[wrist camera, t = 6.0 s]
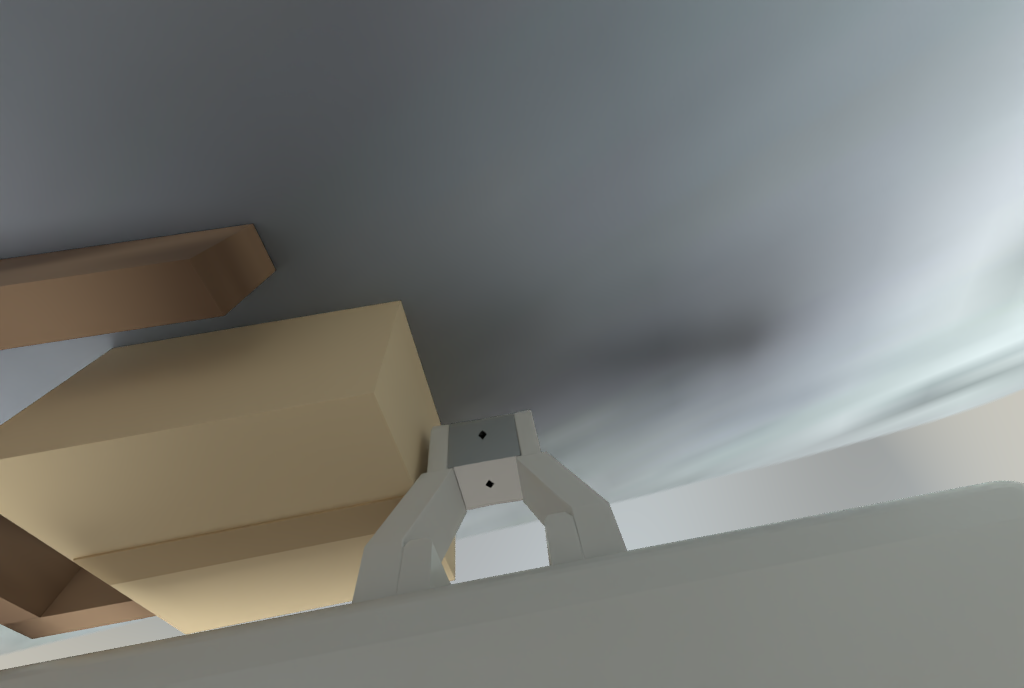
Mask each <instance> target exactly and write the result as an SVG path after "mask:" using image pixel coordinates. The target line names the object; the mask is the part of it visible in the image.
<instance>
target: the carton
mask: <svg viewBox="0 0 1024 688" xmlns="http://www.w3.org/2000/svg"><path fill="white" fill-rule="evenodd" d="M440 425H441V423H440V420H439V417H438V414H437V411H436V408H435V405H434V402H433V399H432V396H431V393H430V389H429V386H428V383H427V380H426V377H425V374H424V371H423V368H422V365H421V362H420V359H419V356H418V352H417V349H416V346H415V343H414V340H413V337H412V334H411V331H410V328H409V325H408V322H407V319H406V315H405V312H404V309H403V306H402V303H401V300H400V301H394V302H388V303H382V304H376V305H370V306H364V307H358V308H352V309H346V310H340V311H334V312H328V313H322V314H316V315H310V316H304V317H298V318H292V319H286V320H280V321H274V322H268V323H262V324H256V325H250V326H244V327H238V328H232V329H226V330H220V331H214V332H208V333H202V334H196V335H189V336H183V337H177V338H171V339H165V340H159V341H153V342H147V343H141V344H135V345H129V346H123V347H117V348H112V349H111V350H109V351H108V352H106V353H105V354H103V355H102V356H101V357H99V358H98V359H96V360H95V361H93V362H92V363H90V364H89V365H88V366H86V367H85V368H83V369H82V370H80V371H79V372H77V373H76V374H74V375H73V376H72V377H70V378H69V379H67V380H66V381H64V382H63V383H61V384H60V385H59V386H57V387H56V388H54V389H53V390H51V391H50V392H48V393H47V394H45V395H44V396H43V397H41V398H40V399H38V400H37V401H35V402H34V403H32V404H31V405H29V406H28V407H27V408H25V409H24V410H22V411H21V412H19V413H18V414H16V415H15V416H14V417H12V418H11V419H9V420H8V421H6V422H5V423H3V424H2V425H0V514H1V515H2V516H4V517H5V518H7V519H8V520H10V521H12V522H13V523H15V524H16V525H18V526H19V527H21V528H22V529H24V530H25V531H27V532H28V533H30V534H32V535H33V536H35V537H36V538H38V539H39V540H41V541H42V542H44V543H45V544H47V545H49V546H50V547H52V548H53V549H55V550H56V551H58V552H59V553H61V554H62V555H64V556H65V557H67V558H69V559H70V560H72V561H73V562H75V563H76V564H78V565H79V566H81V567H82V568H84V569H85V570H87V571H89V572H90V573H92V574H93V575H95V576H96V577H98V578H99V579H101V580H102V581H104V582H105V583H107V584H109V585H110V586H112V587H113V588H115V589H116V590H118V591H119V592H121V593H122V594H124V595H126V596H127V597H129V598H130V599H132V600H133V601H135V602H136V603H138V604H139V605H141V606H142V607H144V608H146V609H147V610H149V611H150V612H152V613H153V614H155V615H156V616H158V617H159V618H161V619H162V620H164V621H166V622H167V623H169V624H170V625H172V626H173V627H175V628H177V629H178V630H180V631H181V632H183V633H184V634H190V633H195V632H200V631H205V630H210V629H215V628H219V627H225V626H229V625H235V624H239V623H245V622H249V621H255V620H260V619H264V618H269V617H274V616H279V615H284V614H289V613H294V612H299V611H304V610H309V609H314V608H319V607H324V606H329V605H334V604H339V603H344V602H349V601H352V600H353V595H354V591H355V586H356V582H357V578H358V573H359V569H360V564H361V560H362V555H363V551H364V547H365V546H366V544H367V543H368V542H369V540H370V539H371V538H372V537H373V535H374V534H375V533H376V531H377V530H378V529H379V528H380V526H381V525H382V524H383V523H384V521H385V520H386V519H387V517H388V516H389V515H390V514H391V512H392V511H393V510H394V508H395V507H396V506H397V505H398V503H399V502H400V501H401V499H402V498H403V497H404V496H405V494H406V493H407V492H408V491H409V489H410V488H411V487H412V485H413V484H414V483H415V482H416V480H417V479H418V478H419V476H420V475H421V474H423V473H427V465H428V454H429V444H430V433H431V429H432V427H433V426H440ZM441 563H442V565H443V568H444V570H445V572H446V574H447V577H448V579H449V581H453V580H455V537H454V539H453V540H452V542H451V544H450V546H449V548H448V550H447V552H446V554H445V556H444V558H443V560H442V562H441Z"/></svg>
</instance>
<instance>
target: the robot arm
mask: <svg viewBox="0 0 1024 688" xmlns="http://www.w3.org/2000/svg"><path fill="white" fill-rule="evenodd" d="M519 500H523V502H524V503H525V504H526V505H527V506H528V508H529V509H530V510H531V511H532V512H533V513H534V515H535V516H536V517H537V518H538V519H539V520H540V522H541V523H542V524H543V525H544V526H545V532H546V540H547V548H548V555H549V564H550V566H546V567H540V568H535V569H530V570H525V571H519V572H514V573H509V574H504V575H498V576H493V577H488V578H483V579H477V580H472V581H467V582H462V583H457V584H450V581H449V579H448V577H447V574H446V572H445V570H444V568H443V565H442V563H441V562H442V560H443V558H444V556H445V554H446V552H447V550H448V548H449V546H450V544H451V542H452V540H453V539H454V537H455V535H456V533H457V531H458V529H459V527H460V525H461V523H462V521H463V519H464V517H465V515H466V513H467V511H466V510H470V509H475V508H480V507H484V506H489V505H494V504H500V503H506V502H513V501H519ZM0 688H1024V483H1020V482H1014V481H994V482H987V483H981V484H976V485H972V486H966V487H960V488H955V489H950V490H944V491H939V492H934V493H929V494H923V495H919V496H913V497H908V498H903V499H897V500H892V501H887V502H882V503H877V504H871V505H866V506H861V507H856V508H851V509H845V510H840V511H834V512H829V513H824V514H819V515H813V516H808V517H803V518H798V519H792V520H787V521H782V522H777V523H771V524H766V525H761V526H756V527H751V528H745V529H740V530H735V531H730V532H724V533H719V534H714V535H709V536H703V537H698V538H693V539H687V540H683V541H677V542H672V543H666V544H661V545H656V546H650V547H645V548H640V549H635V550H629V551H627V549H626V546H625V544H624V541H623V538H622V536H621V533H620V531H619V528H618V525H617V523H616V520H615V517H614V515H613V512H612V510H611V507H610V504H609V502H608V501H606V500H605V499H604V498H603V497H601V496H600V495H599V494H598V493H597V492H595V491H594V490H593V489H592V488H590V487H589V486H588V485H587V484H586V483H584V482H583V481H582V480H581V479H579V478H578V477H577V476H576V475H575V474H573V473H572V472H571V471H570V470H569V469H567V468H566V467H565V466H564V465H562V464H561V463H560V462H559V461H558V460H556V459H555V458H554V457H553V456H551V455H550V454H549V453H548V452H547V451H546V452H541V449H540V444H539V440H538V436H537V432H536V428H535V424H534V419H533V415H532V412H531V410H526V411H520V412H515V413H514V414H513V413H510V414H505V415H499V416H494V417H489V418H483V419H478V420H471V421H464V422H458V423H451V424H447V425H440V426H433V427H432V429H431V433H430V444H429V454H428V465H427V473H423V474H421V475H420V476H419V478H418V479H417V480H416V482H415V483H414V484H413V485H412V487H411V488H410V489H409V491H408V492H407V493H406V494H405V496H404V497H403V498H402V499H401V501H400V502H399V503H398V505H397V506H396V507H395V508H394V510H393V511H392V512H391V514H390V515H389V516H388V517H387V519H386V520H385V521H384V523H383V524H382V525H381V526H380V528H379V529H378V530H377V531H376V533H375V534H374V535H373V537H372V538H371V539H370V540H369V542H368V543H367V544H366V546H365V547H364V551H363V555H362V560H361V564H360V569H359V573H358V578H357V582H356V586H355V591H354V595H353V600H352V604H346V605H341V606H336V607H331V608H325V609H320V610H315V611H310V612H304V613H299V614H294V615H289V616H283V617H278V618H273V619H267V620H263V621H257V622H252V623H246V624H241V625H236V626H231V627H225V628H220V629H215V630H209V631H204V632H199V633H194V634H188V635H183V636H178V637H172V638H167V639H162V640H157V641H152V642H146V643H141V644H135V645H130V646H125V647H120V648H114V649H110V650H104V651H99V652H93V653H88V654H83V655H77V656H72V657H67V658H62V659H56V660H51V661H46V662H41V663H36V664H30V665H25V666H20V667H14V668H9V669H4V670H0Z"/></svg>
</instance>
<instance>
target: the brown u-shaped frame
mask: <svg viewBox="0 0 1024 688" xmlns="http://www.w3.org/2000/svg"><path fill="white" fill-rule="evenodd" d="M275 271H276V270H275V268H274V266H273V264H272V262H271V259H270V257H269V255H268V253H267V251H266V249H265V247H264V245H263V243H262V241H261V239H260V237H259V235H258V233H257V231H256V229H255V227H254V225H253V224H248V225H241V226H234V227H226V228H219V229H212V230H205V231H198V232H191V233H184V234H177V235H170V236H163V237H156V238H149V239H142V240H135V241H128V242H121V243H114V244H107V245H99V246H92V247H85V248H78V249H71V250H64V251H57V252H50V253H43V254H36V255H29V256H22V257H15V258H8V259H1V260H0V350H3V349H10V348H16V347H23V346H29V345H36V344H43V343H49V342H56V341H62V340H69V339H75V338H82V337H89V336H95V335H102V334H108V333H115V332H122V331H128V330H135V329H141V328H148V327H154V326H161V325H168V324H174V323H181V322H187V321H194V320H200V319H207V318H214V317H220V316H225V315H226V314H227V313H228V312H229V311H230V310H232V309H233V308H234V307H235V306H236V305H237V304H238V303H240V302H241V301H242V300H243V299H244V298H245V297H246V296H248V295H249V294H250V293H251V292H252V291H253V290H254V289H255V288H257V287H258V286H259V285H260V284H261V283H262V282H263V281H265V280H266V279H267V278H268V277H269V276H270V275H271V274H272V273H274V272H275ZM152 616H156V615H155V614H153V613H152V612H150V611H149V610H147V609H146V608H144V607H142V606H141V605H139V604H138V603H136V602H135V601H133V600H132V599H130V598H129V597H127V596H126V595H124V594H122V593H121V592H119V591H118V590H116V589H115V588H113V587H112V586H110V585H109V584H107V583H105V582H104V581H102V580H101V579H99V578H98V577H96V576H95V575H93V574H92V573H90V572H89V571H87V570H85V569H84V568H82V567H81V566H79V565H78V564H76V563H75V562H73V561H72V560H70V559H69V558H67V557H65V556H64V555H62V554H61V553H59V552H58V551H56V550H55V549H53V548H52V547H50V546H49V545H47V544H45V543H44V542H42V541H41V540H39V539H38V538H36V537H35V536H33V535H32V534H30V533H28V532H27V531H25V530H24V529H22V528H21V527H19V526H18V525H16V524H15V523H13V522H12V521H10V520H8V519H7V518H5V517H4V516H2V515H1V514H0V624H2V625H4V626H6V627H8V628H10V629H12V630H14V631H16V632H19V633H21V634H23V635H25V636H27V637H29V638H31V639H34V638H39V637H45V636H50V635H56V634H61V633H66V632H72V631H77V630H82V629H88V628H93V627H99V626H104V625H109V624H115V623H120V622H126V621H131V620H136V619H142V618H147V617H152Z"/></svg>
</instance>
